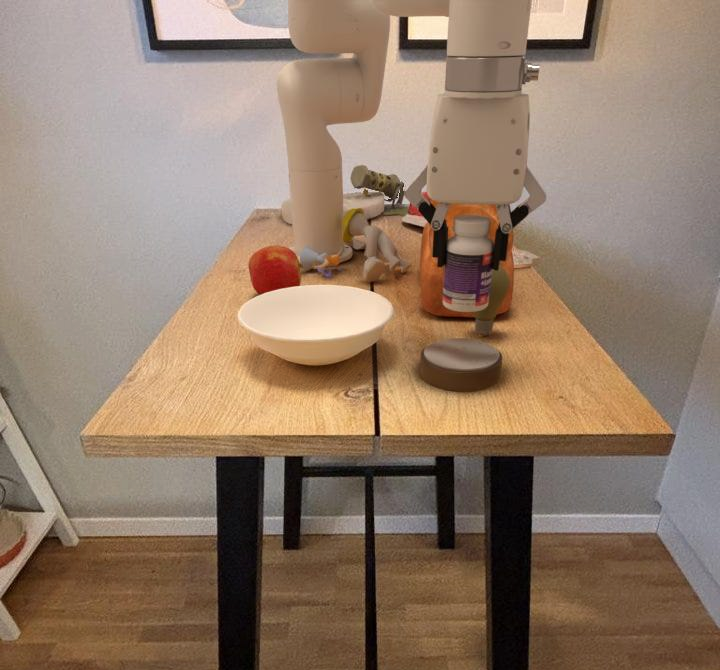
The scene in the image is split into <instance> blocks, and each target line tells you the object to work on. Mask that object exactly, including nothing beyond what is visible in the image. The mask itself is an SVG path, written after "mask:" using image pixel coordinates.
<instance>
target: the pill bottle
mask: <svg viewBox="0 0 720 670" xmlns="http://www.w3.org/2000/svg"><path fill="white" fill-rule="evenodd" d="M490 225H491V219H490V218H489V217H486V216H481V215H461V216H457V217H455V218H454V226H453V229H454V230H453V232H454V233H455V236H453V237H451V238H450V239H449V240H448V241H447V244H446V254H445V270H444V285H443V305H444V306H445V307H446V308H448V309H450V310H453V311H458V312H476V311H481V310H483V309H485V308H486V307H487V306H488V303H489V295H490V286H491V276H492V263H493V254H494V243H493V241H492V240H491V239H490V238H488V237H487V234H489V232H490Z"/></svg>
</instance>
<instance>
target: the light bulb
mask: <svg viewBox="0 0 720 670" xmlns="http://www.w3.org/2000/svg"><path fill="white" fill-rule="evenodd" d="M508 289H509V278H508V275H507V273H506V271H505V270H504V269H503V268H502V267H501V266H500V265H499V269H498V271H497V270H494V269H492V276H491V286H490V295H489V303H488V306H487V307H486V308H485V309H483V310H481V311H476V312H474V316H475V317H474V318H475V323H474V324H475V325H474V326H475V327H474V331H475V332H476V333H477V334H478V335H479V336H480V337H487V336H488V335H489V334H491V333H492V332H493V328H494V320H495V318H496V317H497V315H498V314H497V311H498V309H499V307H500V305H501V303H502V302H503V300H504V299H505V297H506V295H507V293H508ZM496 314H497V315H496Z"/></svg>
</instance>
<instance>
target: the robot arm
mask: <svg viewBox="0 0 720 670" xmlns="http://www.w3.org/2000/svg"><path fill="white" fill-rule="evenodd" d="M287 7H288V9H287V11H288V13H287V19H288V20H287V21H288V22H287V23H288V25H287V26H288V33H289V38H290V41H291V43H292V45H293V46H294V47H295V48H296V49H297V50H298V51H300V52H302V53H305V54H316V55H331V54H332V55H334V54H335V55H339V54H352V57H341V58H340V57H337V58H335V57H334V58H330V57H323V58H322V57H321V58H303V59H301V58H300V59H297V60H293V61H290V62H288V63H287V64H286V65H284V66H283V67H282V68H281V69H280V71H279V73H278V76H277V80H276V93H277V98H278V103H279V107H280V112H281V118H282V123H283V129H284V136H285V143H286V156H287V167H288V179H289V180H288V181H289V195H290V197H289V199H290V198H291V213H292V224H291V225H292V227H291V228H292V240H293V245H291V246H290V247H288V248H289V249H291V250H292V251H293V252H294V253H295V254H296V255H297V257H298V259H299V258H300V254H301V251H302V249H303V248H304V247H305V246H307V247H309V248H310V249H312V250H314V251H315V252H317V253H318V254H319V255H322V254H323V253H327V254H330V255H331V256H332V255H337V254H338V253H339V251H340V248H341V249H342V252H341V253H340V255H339V257H340V263H344V262H347V261H349V260H350V259H351V258H353V254H354V253H353V247H351V246H349V245H348V244H346V243H345V242H344V241H343V239H342V236H343V231H344V229H343V225H342V221H343V189H344V187H343V186H344V184H343V182H344V181H343V157H342V156H343V155H342V152H341V151H342V150H341V149H340V146H339V144H338V143H337V141H336V140H335V139H334V137H333V136H332V134H331V133H330V132H329V130H328V128H327V127H328V126H331V125H342V124H343V125H344V124H357V123H365V122H369V121H370V120H372V119H373V118H375V116H376V115H377V113H378V112H379V108H380V105H381V100H382V94H383V87H384V80H385V79H384V77H385V72H386V64H387V56H388V55H387V54H388V47H389V41H390V31H391V16H393V17H398V18H412V17H414V18H417V17H445V18H448V20H447V21H448V23H447V38H446V39H447V40H446V58H445V75H444V93H438V95H437V98H436V103H435V107H434V112H433V118H432V124H431V130H430V137H429V138H430V139H429V146H428V156H427V160H428V161H427V165H426V166H424V168H423V169H422V171H420V173H419V174H418V175H417V176H416V178H415V179H414V180H413V181H412V182H411V184H409V185H408V187H407V188H405V190H404V191H405V192H404V198H405V199H406V200H407V201H408V202H409V204H410V203H411V204H412V205H413V206H414V207H416V208H417V209H418V210H419V212H420V213H421V215H422V216H423V217H424V218H425V219H426V220H427V221H428V223H429V224H430V225H431V228H432V229H433V230H434V234H433V254H432V256H433V257H436V258H438V262H437V267H441V268H442V266H444V265H445V254H446V244H447V241H448V228H449V227H448V226H447V224H446V222H447V221H446V220H445V217H446V215H447V212H448V210H449V207H450V204H451V203H460V204H489V205H496V209H497V214H498V218H499V225H498V228H497V229H496V234H495V244H494V254H493V263H492V269H494V270H497V271H498V269H499V263H500V261H506V256H507V247H508V238H509V233H510V232H511V230H512V229H513V230H514V228H515V227H516V226H517V225H519V224H520V223H521V222H522V221H523V220H525V219H526V218H527V217H528V216H529V215H530V214H531V213H532V212H534V211H535V210H537V209H538V208H539V207H540V206H542V205H543V204H544V203H545V202H547V193H546V191H545V190H544V188H543V186H542V185H541V184H540V183H539V181H538V179H536V177H535V175H534V173H533V172H532V171H531V169H530V168H529V167H528V154H529V153H528V152H529V139H530V121H531V117H530V116H531V115H530V114H531V113H530V112H531V111H530V96H529V94H528V93H523V85H526V83H531V81H536V82H537V81H539V75H540V74H539V73H540V67H541V65H540V64H533V62H529V60H526V54H527V45H528V44H527V43H528V36H529V27H530V18H531V9H532V0H288V6H287ZM425 186H426V192H427V194H428V197H429V198H431V199H432V200H434V201H437V202H439V203H438V206H437V208H435V207H434V206H433V205H432V203H431V202H430V201H429V200H427V199H426V198H425V197H424V196H423V195H422V191H423V189H424V187H425ZM524 188H525V190H526V192H527V193H528V194H529V196H528V197H527V198H526V199H525V200H524V201H523V202H521V203H520V204H519V205H517V206H516V207H514V209H513V210H512V208H511V205H513V204H515V203H517V202H518V201H520V199H521V198H522V195H523V190H524ZM330 255H328V256H329V257H330ZM340 263H339V264H340ZM322 264H323V263H322ZM319 265H321V262H319V263H318V264H317V265H316V266H319Z"/></svg>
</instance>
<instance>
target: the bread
mask: <svg viewBox="0 0 720 670" xmlns="http://www.w3.org/2000/svg"><path fill="white" fill-rule="evenodd" d="M430 202H431V203H432V205H433V206H434V207H435V208H437V206H438V203H439V202H437V201H434V200H432V199H430ZM461 215H481V216H486V217H489V218H490V219H491V225H490V232H489V234H487V237H488V238H490V239H491V240H492V241H493V243H494V244H495V234H496V229H497V228H498V225H499V218H498V214H497V209H496V205H489V204H460V203H451V204H450V207H449V210H448V212H447V215H446V217H445V220H446V221H447V222H446V224H447V226H448V227H449V228H448V240H449V239H450V238H451V237H453V236H455V233H454V232H453V230H454V229H453V226H454V218H455V217H457V216H461ZM433 234H434V230H433V229H432V228H431V225H430V224H429V223H428V222H427V223H426V224H425V226H424V227H423V231H422V235H421V240H420V241H421V242H420V251H419V252H420V253H419V255H420V256H419V283H420V302H421V305H422V308H423V310H424V311H425V312H428V313H429V314H431V315H433V316H435V317H449V318H450V317H453V318H455V317H456V318H475V316H474V312H458V311H453V310H450V309H448V308H446V307H445V306H444V305H443V285H444V270H445V265H444V266H442V268H441V267H437V262H438V258H436V257H433V256H432V254H433ZM513 246H514V228H513V229H512V230H511V232H510V233H509V238H508V247H507V256H506V261H500V263H499V265H500V266H501V267H502V268H503V269H504V270H505V271H506V273H507V275H508V278H509V289H508V293H507V295H506V297H505V299H504V300H503V302H502V303H501V305H500V307H499V309H498V311H497V314H496V316H497V315H501V314H503V313H506V312H507V311H508V310H509V309H510V307H511V305H512V299H513V292H514V286H515V285H514V284H515V281H514V280H515V278H514V277H515V268H514V260H513V255H512V253H513Z"/></svg>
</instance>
